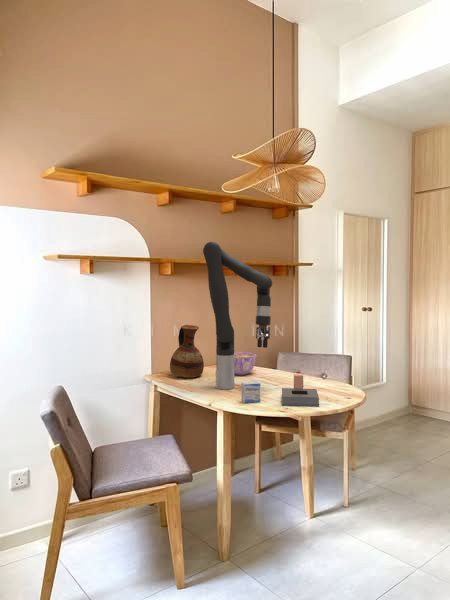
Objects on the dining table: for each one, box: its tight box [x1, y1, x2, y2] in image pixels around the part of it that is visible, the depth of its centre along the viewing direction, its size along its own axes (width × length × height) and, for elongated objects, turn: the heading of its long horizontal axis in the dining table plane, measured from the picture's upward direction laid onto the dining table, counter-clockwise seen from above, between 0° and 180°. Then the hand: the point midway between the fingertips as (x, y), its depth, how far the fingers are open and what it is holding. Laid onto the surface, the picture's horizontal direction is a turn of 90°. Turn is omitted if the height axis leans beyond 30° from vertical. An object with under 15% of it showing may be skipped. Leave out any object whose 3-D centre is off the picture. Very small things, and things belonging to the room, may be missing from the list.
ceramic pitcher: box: [169, 324, 205, 379], centre depth 261 cm, size 20×20×30 cm
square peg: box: [293, 373, 304, 389], centre depth 220 cm, size 4×4×9 cm
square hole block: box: [281, 387, 320, 408], centre depth 205 cm, size 16×16×4 cm
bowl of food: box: [234, 351, 257, 376], centre depth 267 cm, size 20×20×12 cm
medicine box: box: [240, 381, 261, 404], centre depth 204 cm, size 8×4×9 cm, turn 105°
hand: (262, 347), depth 227 cm, fingers open, 8 cm apart
